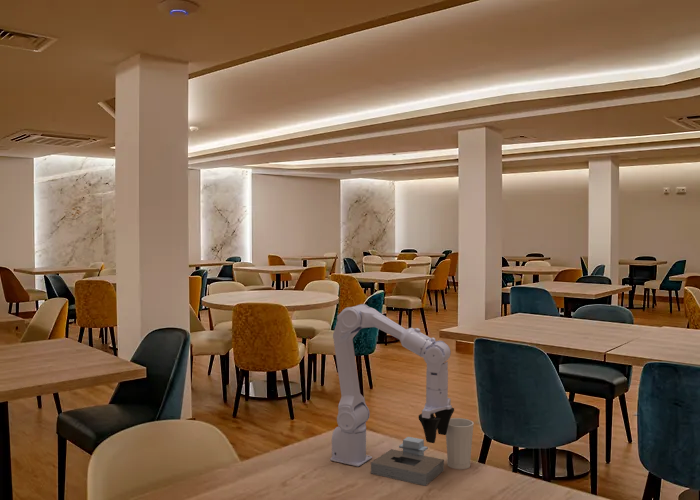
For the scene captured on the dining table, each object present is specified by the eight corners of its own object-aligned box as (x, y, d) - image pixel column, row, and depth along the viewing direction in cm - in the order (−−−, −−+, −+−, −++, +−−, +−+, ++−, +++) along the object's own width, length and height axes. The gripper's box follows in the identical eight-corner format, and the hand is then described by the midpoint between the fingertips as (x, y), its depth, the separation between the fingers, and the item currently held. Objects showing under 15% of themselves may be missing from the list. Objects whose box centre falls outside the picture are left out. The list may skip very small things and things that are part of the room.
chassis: (370, 473, 168) (370, 462, 168) (391, 459, 179) (391, 449, 179) (425, 485, 160) (425, 474, 160) (443, 470, 170) (443, 459, 170)
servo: (398, 458, 180) (398, 439, 180) (403, 454, 183) (403, 435, 183) (422, 463, 176) (422, 443, 176) (427, 459, 179) (427, 440, 179)
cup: (473, 471, 170) (473, 427, 169) (443, 469, 171) (443, 425, 171) (473, 460, 178) (473, 418, 177) (445, 458, 179) (445, 417, 179)
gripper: (440, 395, 159) (439, 448, 159) (461, 384, 171) (460, 433, 172) (414, 392, 162) (414, 443, 163) (437, 380, 175) (436, 428, 175)
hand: (436, 438), depth 167 cm, fingers open, 7 cm apart
